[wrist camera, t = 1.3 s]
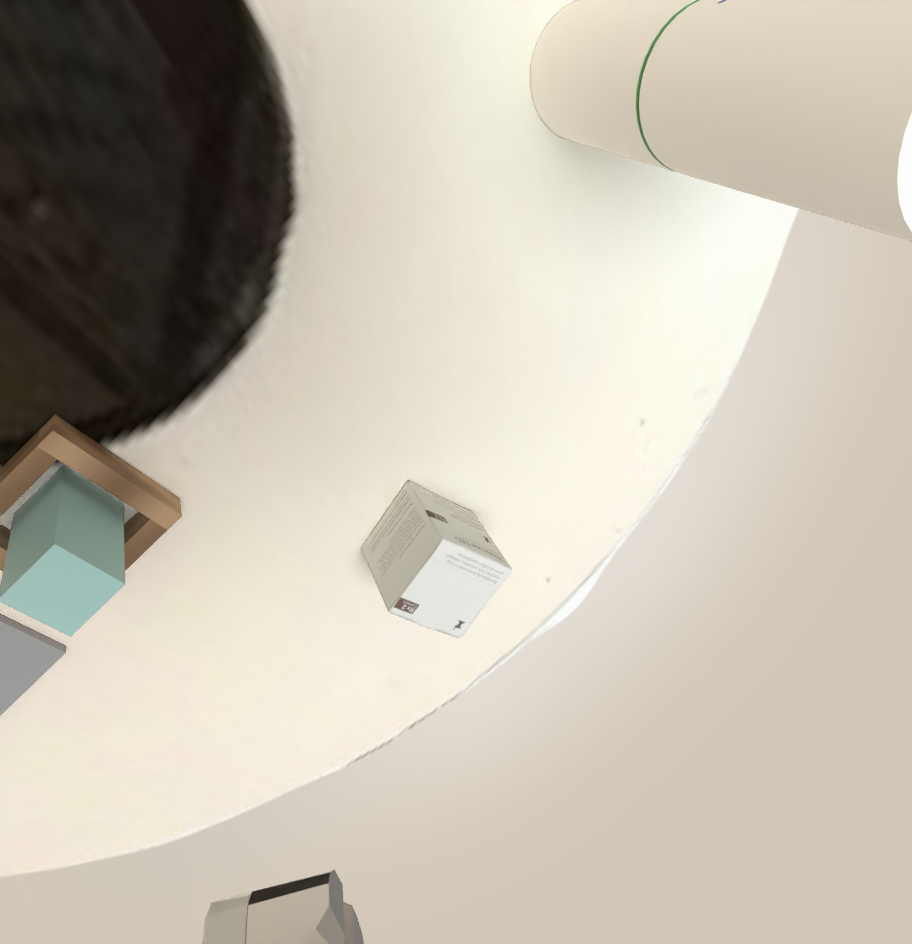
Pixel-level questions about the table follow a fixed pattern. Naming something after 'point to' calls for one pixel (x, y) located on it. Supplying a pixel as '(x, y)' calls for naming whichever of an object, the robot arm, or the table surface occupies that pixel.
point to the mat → (23, 659)
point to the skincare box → (433, 561)
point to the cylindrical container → (744, 96)
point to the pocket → (101, 469)
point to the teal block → (64, 552)
